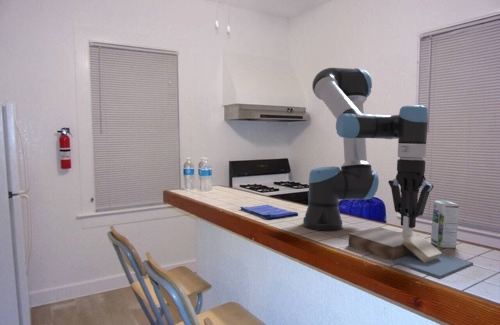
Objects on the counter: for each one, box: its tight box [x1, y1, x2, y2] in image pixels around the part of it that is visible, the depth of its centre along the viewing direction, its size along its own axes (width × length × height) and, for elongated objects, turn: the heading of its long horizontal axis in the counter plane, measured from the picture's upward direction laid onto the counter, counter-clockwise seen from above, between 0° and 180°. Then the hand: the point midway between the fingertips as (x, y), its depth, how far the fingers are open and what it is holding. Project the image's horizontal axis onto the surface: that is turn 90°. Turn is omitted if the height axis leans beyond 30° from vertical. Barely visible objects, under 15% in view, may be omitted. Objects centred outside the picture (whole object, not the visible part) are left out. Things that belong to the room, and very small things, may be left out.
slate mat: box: [392, 252, 474, 279], centre depth 95 cm, size 13×18×1 cm
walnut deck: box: [348, 226, 414, 262], centre depth 108 cm, size 16×16×4 cm
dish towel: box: [240, 204, 299, 220], centre depth 157 cm, size 17×24×3 cm
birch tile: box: [402, 233, 443, 263], centre depth 98 cm, size 8×7×2 cm
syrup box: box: [430, 200, 460, 249], centre depth 112 cm, size 6×6×14 cm
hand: (407, 237), depth 102 cm, fingers closed
